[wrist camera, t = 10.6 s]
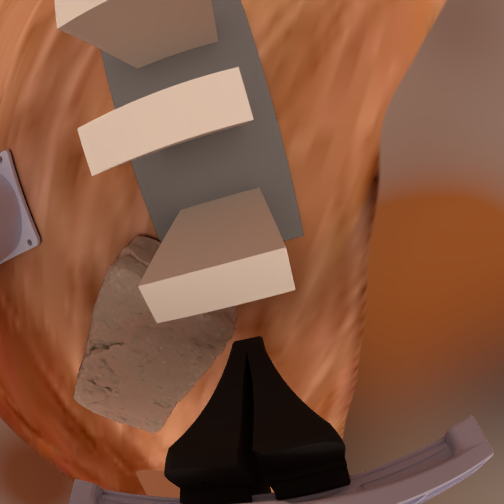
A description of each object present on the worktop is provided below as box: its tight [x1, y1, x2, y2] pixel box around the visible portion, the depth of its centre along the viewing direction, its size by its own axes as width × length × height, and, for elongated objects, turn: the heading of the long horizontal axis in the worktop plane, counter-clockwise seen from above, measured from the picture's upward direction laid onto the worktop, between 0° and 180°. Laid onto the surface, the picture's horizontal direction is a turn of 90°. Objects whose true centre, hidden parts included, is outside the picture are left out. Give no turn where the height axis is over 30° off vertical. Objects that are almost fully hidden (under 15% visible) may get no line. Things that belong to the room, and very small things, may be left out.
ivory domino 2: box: [77, 67, 254, 176], centre depth 11 cm, size 5×2×9 cm, turn 105°
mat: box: [101, 0, 304, 243], centre depth 13 cm, size 9×28×1 cm, turn 15°
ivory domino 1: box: [55, 0, 218, 69], centre depth 9 cm, size 5×2×9 cm, turn 105°
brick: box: [74, 236, 237, 434], centre depth 19 cm, size 16×8×5 cm, turn 149°
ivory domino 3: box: [138, 187, 295, 323], centre depth 13 cm, size 5×2×9 cm, turn 105°
